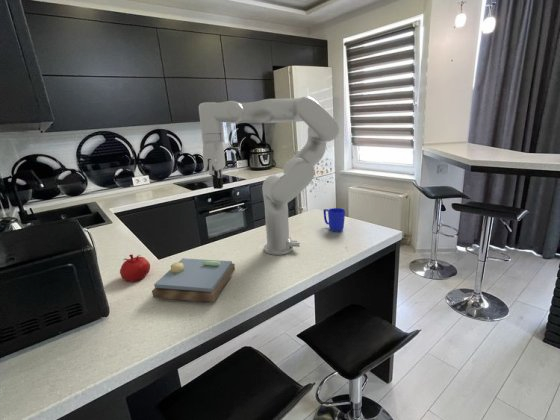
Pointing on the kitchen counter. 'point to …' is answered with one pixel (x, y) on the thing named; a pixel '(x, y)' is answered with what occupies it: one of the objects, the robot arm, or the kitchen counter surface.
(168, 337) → the kitchen counter surface
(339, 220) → the mug
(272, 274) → the kitchen counter surface
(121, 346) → the kitchen counter surface
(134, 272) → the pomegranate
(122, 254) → the kitchen counter surface
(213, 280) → the plate
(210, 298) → the wooden board
